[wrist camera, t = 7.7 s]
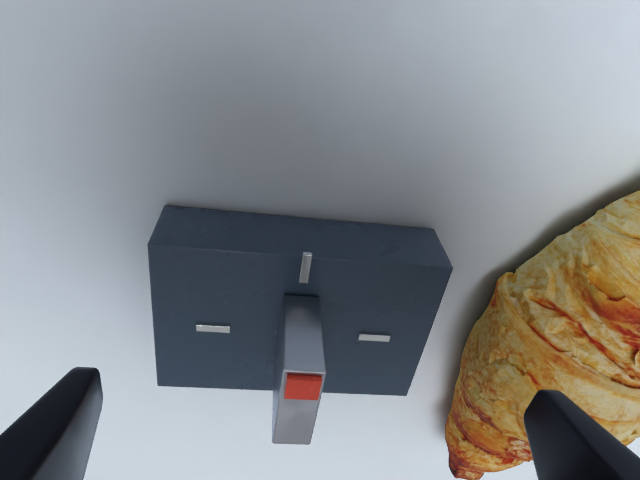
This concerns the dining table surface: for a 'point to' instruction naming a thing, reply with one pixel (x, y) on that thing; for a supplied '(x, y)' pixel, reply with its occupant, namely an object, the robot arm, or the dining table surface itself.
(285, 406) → the hob knob
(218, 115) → the dining table surface
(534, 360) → the croissant
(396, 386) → the hob control
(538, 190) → the dining table surface
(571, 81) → the dining table surface
